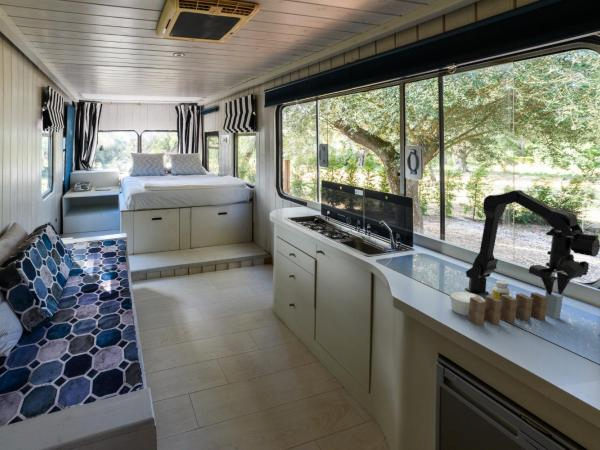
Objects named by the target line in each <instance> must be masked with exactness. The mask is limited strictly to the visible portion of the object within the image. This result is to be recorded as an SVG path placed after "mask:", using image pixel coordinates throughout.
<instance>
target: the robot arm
mask: <svg viewBox="0 0 600 450" xmlns="http://www.w3.org/2000/svg"><path fill="white" fill-rule="evenodd" d="M513 203H515V204H517V205H519V206H522V207H523V208H525V209H527V210H529V211H530V212H532V213H534V214H536V215H538V216H539V217H541V218H543V220H545V222H546V223H547V224H548V225H549V226H550V227H552V228H551V229H550V230H549V231H547V232H546V233H545V235H546V236H551V239H552V240H551V244H550V245H551V246H550V250H547V253H546V254H547V255H549V260H548V262H545V266H544V265H542V264H533V265H530V266H529V269H528V274H530V275H533V276H536V277H538V278H540V279H541V281H542V283H543V285H544V288H545V290H546V291H545V292H547V293H548V294H549V295H551V294H552V292H553V288H554V283H555V281H556V282H557V283H556V284H557V291H558V292H557V294H558V295H562V294H563V293H564V291H565V289H566V288H567V286H568V284H569V283H570V281H571V280H574V279H575V278H582V277H583V276H587V275H588V272H589V267H590V263H588V261H582V260H581V261H576V260H574V258H575V256H574V254H572V253H571V252H573V253H575V254H579V255H585V256H589V257H594V258H596V257H597V255H599V252H600V239H599V235H598V234H588V233H584V231H583V229H582V228H581V226H580V225H579V223H578V216H576V214H574V213H572V212H569V211H566V210H562V209H559V208H554V207H552V206H550V205H548V204H546V203H544V202H543V201H541V200H539V199H537V198H535V197H533V196H531V195H529V194H528V193H525V192H524V191H523V190H521V189H518V190H517V189H516V190H511V191H508V192H505V193H501V194H491V195H490V194H489V195H487V196H486V197H484V199H483V203H482V204H483V205H482V206H483V208H482V210H483V212H484V216H485V219H484V225H483V231H482V236H481V242H480V246H479V247H480V248H479V253H477V254H476V257H475V258H474V261H473V264H472V267H471V268H469V269H467V270H466V271H465V275H466V277H467V278H469V280H468V287H465V288H464V290H466V291H468V293H473V294H476V295H484V294H489V291H487V290H486V289H487V278H488V277H490V276H491V274H492V273H494V272H495V270H496V269H498V268H497V264H498V262H499V261H498V260H499V259H498V258H495V256H494V250H495V245H496V240H497V239H496V238H497V233H498V228H499V223H500V219H501V217H502V216H503V214H504V212H505V211H506V208H507V206H508V205H512V204H513Z"/></svg>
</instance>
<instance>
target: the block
mask: <svg viewBox="0 0 600 450" xmlns="http://www.w3.org/2000/svg"><path fill="white" fill-rule="evenodd" d="M544 296H546V297H548V301H547V309H546V316H548V317H550V318H551V319H553V320H558V319H561V312H562V306H563V305H562V304H563V299H564V296H562V294H559V293H555V292H554V291H552V294H551V295H549V294H548V293H547V291H545V294H544Z"/></svg>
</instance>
